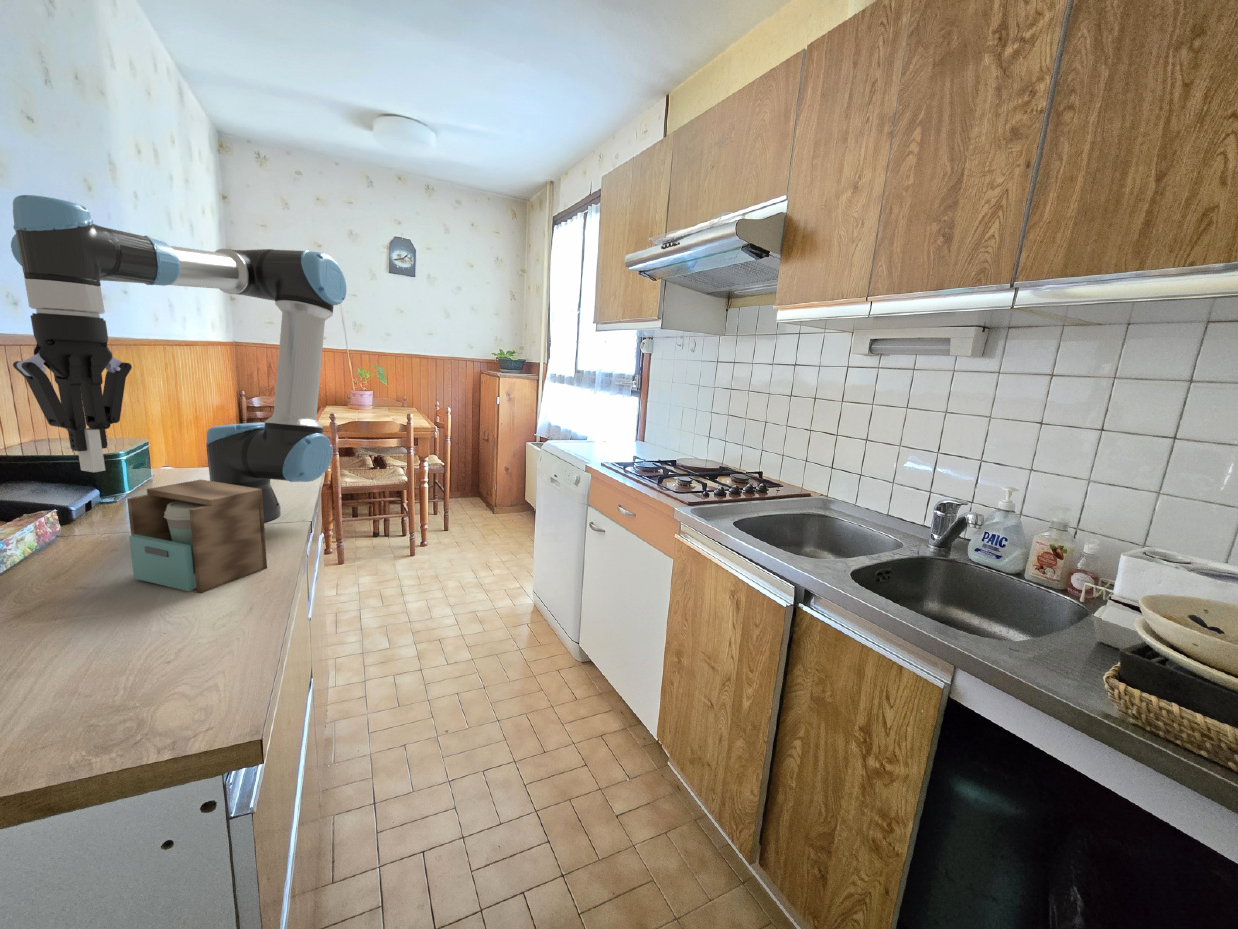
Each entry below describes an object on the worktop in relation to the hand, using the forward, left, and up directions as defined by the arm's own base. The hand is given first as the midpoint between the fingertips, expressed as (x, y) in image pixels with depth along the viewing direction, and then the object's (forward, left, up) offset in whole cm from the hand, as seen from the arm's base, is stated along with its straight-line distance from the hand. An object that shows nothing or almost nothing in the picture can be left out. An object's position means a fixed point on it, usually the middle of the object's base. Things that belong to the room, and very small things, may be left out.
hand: (93, 470), depth 79 cm
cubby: (-11, +5, -21) cm, 24 cm away
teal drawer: (-10, +5, -20) cm, 23 cm away
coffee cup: (-11, +5, -19) cm, 23 cm away
